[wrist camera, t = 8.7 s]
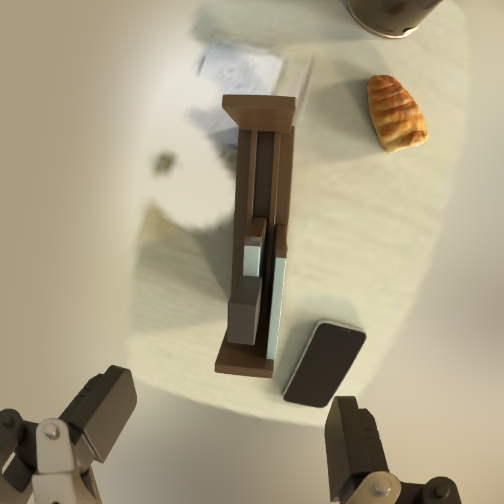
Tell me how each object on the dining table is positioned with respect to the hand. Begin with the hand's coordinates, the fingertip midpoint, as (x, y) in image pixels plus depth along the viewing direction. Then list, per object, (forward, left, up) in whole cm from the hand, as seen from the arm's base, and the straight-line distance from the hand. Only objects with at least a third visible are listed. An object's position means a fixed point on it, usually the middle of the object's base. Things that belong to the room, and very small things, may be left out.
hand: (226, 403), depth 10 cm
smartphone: (+13, +15, -25) cm, 32 cm away
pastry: (-20, +8, -25) cm, 33 cm away
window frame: (-2, -1, -25) cm, 25 cm away
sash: (+1, 0, -23) cm, 23 cm away
